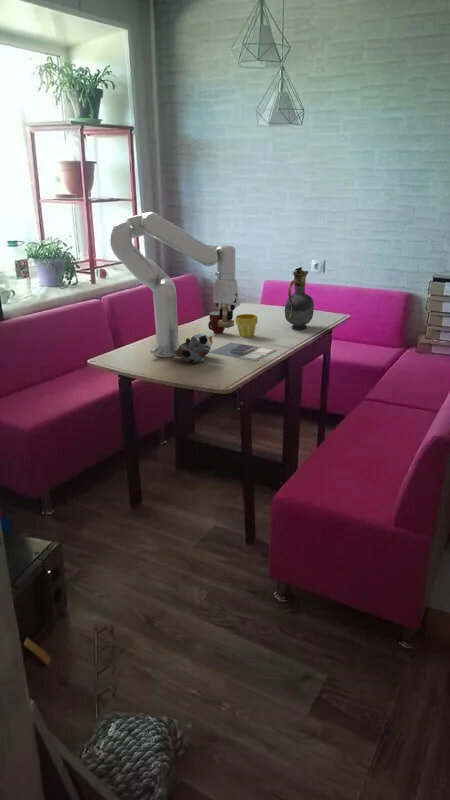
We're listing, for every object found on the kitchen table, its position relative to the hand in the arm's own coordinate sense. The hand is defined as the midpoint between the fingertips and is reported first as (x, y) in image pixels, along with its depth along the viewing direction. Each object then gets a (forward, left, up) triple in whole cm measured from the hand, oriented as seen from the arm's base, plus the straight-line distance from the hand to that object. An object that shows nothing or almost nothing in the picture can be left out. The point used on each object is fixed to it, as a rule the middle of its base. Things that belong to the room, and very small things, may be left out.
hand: (226, 318), depth 255 cm
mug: (+20, +20, -14) cm, 32 cm away
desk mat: (0, -8, -14) cm, 16 cm away
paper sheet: (0, -16, -14) cm, 21 cm away
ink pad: (0, -8, -14) cm, 16 cm away
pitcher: (+48, -10, -14) cm, 51 cm away
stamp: (0, 0, -3) cm, 3 cm away
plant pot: (+23, +5, -14) cm, 28 cm away
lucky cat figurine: (-19, +4, -14) cm, 24 cm away
